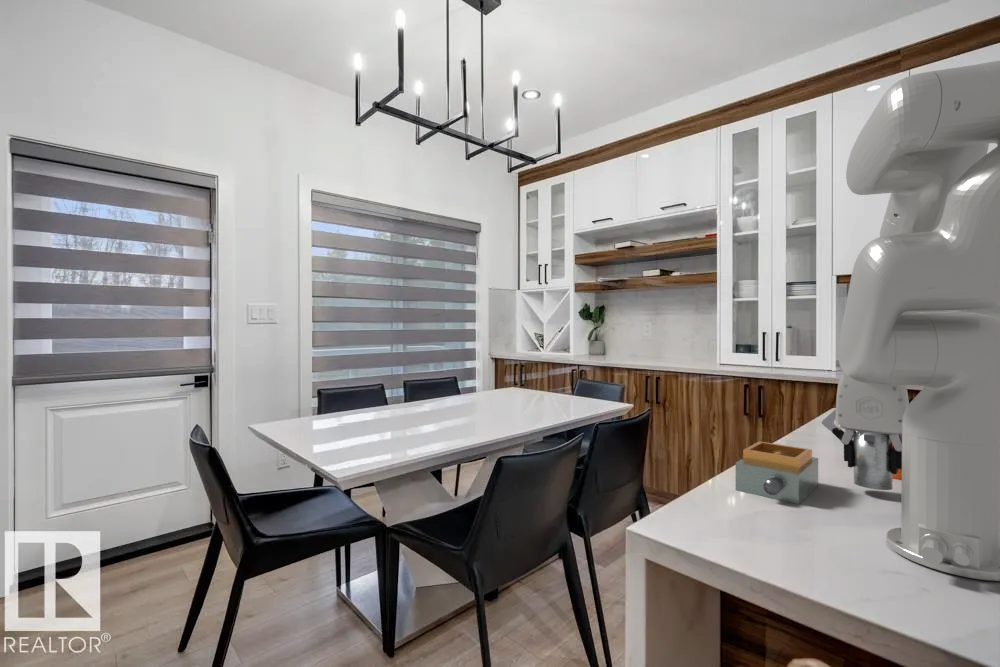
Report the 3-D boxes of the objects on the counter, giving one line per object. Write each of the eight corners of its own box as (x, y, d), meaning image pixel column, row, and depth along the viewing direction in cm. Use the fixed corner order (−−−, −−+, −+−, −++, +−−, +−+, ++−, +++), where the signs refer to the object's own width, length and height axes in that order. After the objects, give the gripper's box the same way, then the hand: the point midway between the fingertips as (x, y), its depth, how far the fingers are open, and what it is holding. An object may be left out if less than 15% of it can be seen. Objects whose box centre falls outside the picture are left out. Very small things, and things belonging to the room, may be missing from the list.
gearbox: (794, 508, 77) (794, 465, 77) (730, 493, 84) (730, 454, 84) (818, 484, 89) (818, 447, 89) (760, 472, 96) (760, 438, 96)
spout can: (889, 493, 79) (888, 429, 79) (850, 486, 83) (849, 424, 83) (894, 485, 84) (893, 424, 84) (856, 479, 87) (856, 421, 88)
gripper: (810, 366, 88) (811, 464, 87) (935, 370, 75) (936, 483, 75) (819, 365, 93) (820, 457, 92) (937, 368, 81) (939, 475, 80)
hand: (872, 468), depth 84 cm, fingers closed on spout can, 5 cm apart
